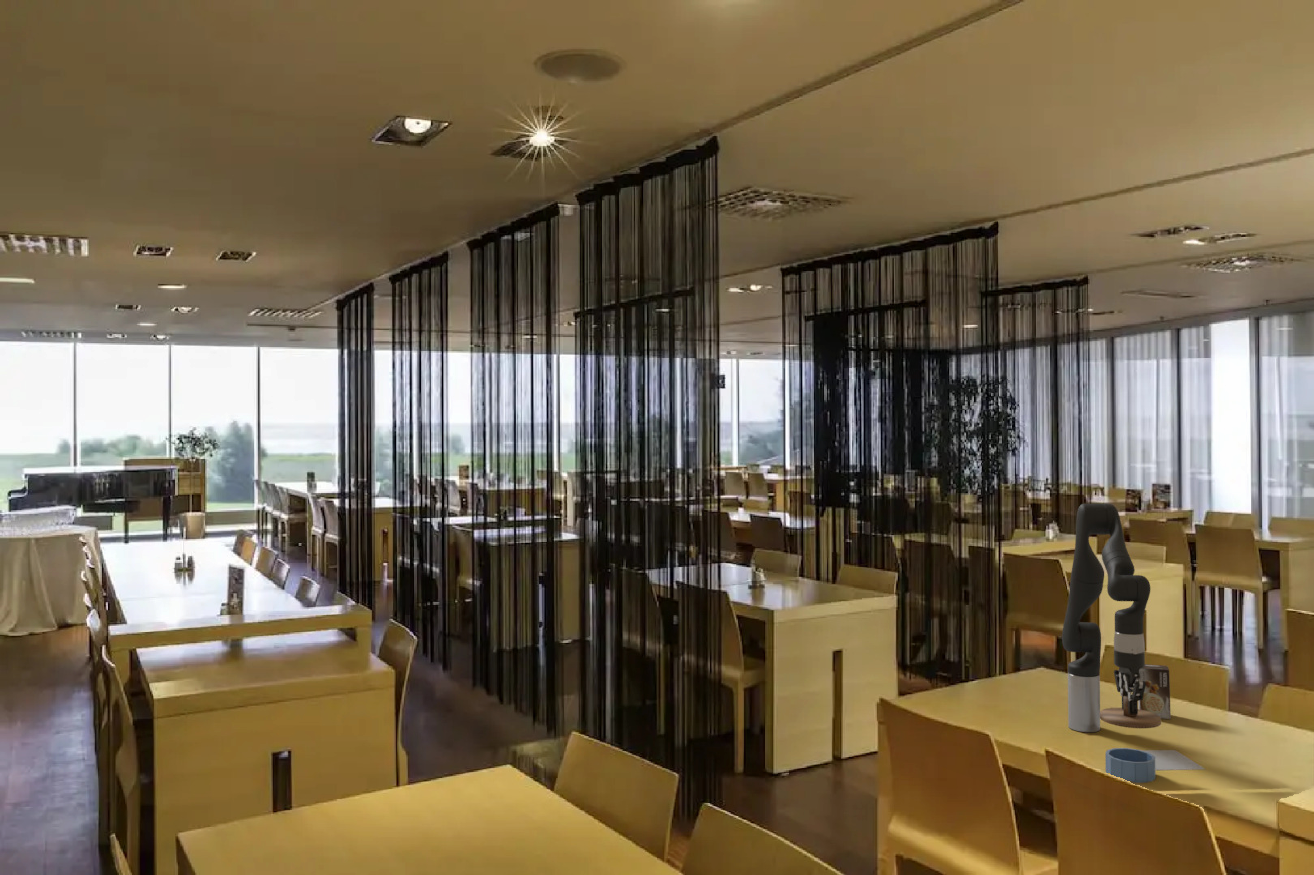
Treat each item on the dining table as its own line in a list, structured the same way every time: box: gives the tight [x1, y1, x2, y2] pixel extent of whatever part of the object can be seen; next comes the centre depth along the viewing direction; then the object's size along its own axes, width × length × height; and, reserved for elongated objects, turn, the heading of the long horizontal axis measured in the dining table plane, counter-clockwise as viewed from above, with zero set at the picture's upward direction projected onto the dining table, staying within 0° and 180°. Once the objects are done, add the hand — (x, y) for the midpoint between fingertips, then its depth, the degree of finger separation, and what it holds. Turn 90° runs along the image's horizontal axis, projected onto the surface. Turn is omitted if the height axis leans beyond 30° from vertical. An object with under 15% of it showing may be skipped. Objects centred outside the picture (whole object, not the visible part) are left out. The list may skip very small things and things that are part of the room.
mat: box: [1142, 749, 1205, 771], centre depth 280 cm, size 16×16×1 cm
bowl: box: [1105, 747, 1157, 784], centre depth 269 cm, size 12×12×6 cm
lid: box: [1100, 695, 1162, 729], centre depth 269 cm, size 15×15×6 cm
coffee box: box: [1138, 663, 1172, 720], centre depth 324 cm, size 9×6×16 cm
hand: (1129, 712), depth 269 cm, fingers closed on lid, 3 cm apart
